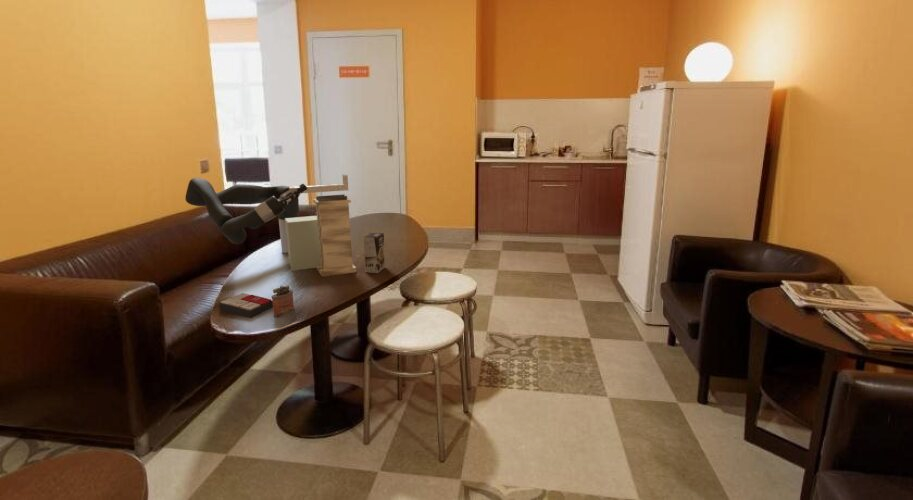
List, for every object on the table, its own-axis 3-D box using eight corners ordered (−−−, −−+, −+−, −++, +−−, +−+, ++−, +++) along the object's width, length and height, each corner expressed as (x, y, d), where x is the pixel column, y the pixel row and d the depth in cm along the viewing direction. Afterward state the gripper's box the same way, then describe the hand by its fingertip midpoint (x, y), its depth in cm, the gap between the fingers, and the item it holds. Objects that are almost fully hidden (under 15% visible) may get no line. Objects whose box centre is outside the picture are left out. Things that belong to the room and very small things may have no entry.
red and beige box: (249, 309, 170) (218, 300, 176) (250, 321, 171) (219, 312, 177) (273, 298, 180) (242, 291, 185) (274, 309, 181) (243, 301, 187)
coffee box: (378, 273, 219) (377, 237, 214) (365, 272, 220) (363, 236, 216) (385, 267, 227) (384, 232, 223) (372, 266, 228) (370, 232, 224)
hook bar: (289, 193, 207) (287, 177, 206) (346, 189, 217) (345, 174, 215) (290, 194, 205) (288, 178, 203) (348, 190, 214) (347, 175, 213)
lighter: (290, 309, 179) (288, 282, 176) (297, 311, 177) (294, 284, 174) (271, 316, 172) (268, 289, 170) (277, 318, 170) (274, 290, 168)
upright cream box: (289, 264, 232) (284, 218, 226) (324, 260, 238) (320, 215, 232) (292, 270, 223) (287, 222, 217) (328, 266, 229) (324, 219, 224)
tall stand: (317, 269, 224) (311, 195, 215) (350, 265, 230) (346, 193, 221) (322, 276, 214) (315, 199, 206) (356, 272, 221) (351, 196, 212)
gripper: (273, 213, 212) (308, 191, 216) (276, 219, 200) (313, 195, 203) (262, 199, 209) (297, 176, 213) (265, 204, 197) (302, 180, 200)
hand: (305, 186), depth 208 cm, fingers closed on hook bar, 3 cm apart
